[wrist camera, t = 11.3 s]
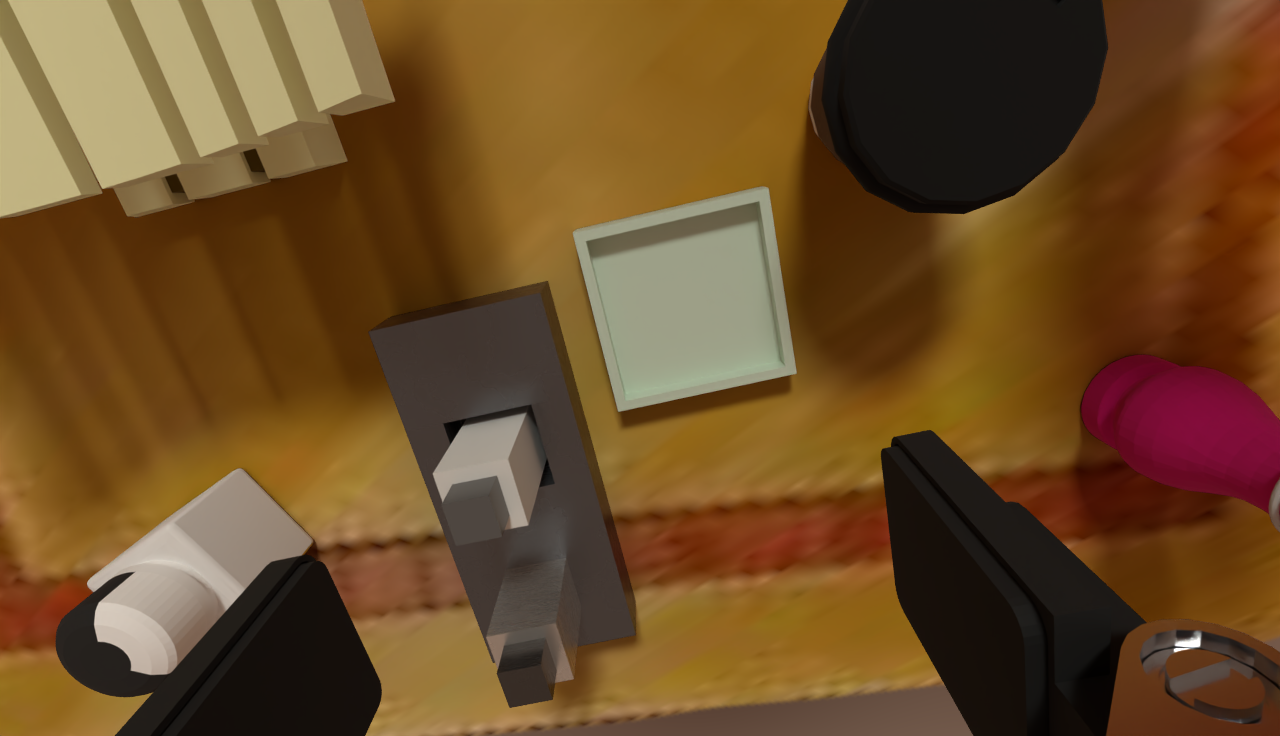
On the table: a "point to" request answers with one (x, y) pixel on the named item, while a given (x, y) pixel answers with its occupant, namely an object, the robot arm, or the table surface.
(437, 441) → the grey piece
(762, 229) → the tray
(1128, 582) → the table surface
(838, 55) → the coffee cup
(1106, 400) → the pepper mill
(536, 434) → the plug
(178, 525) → the medicine bottle
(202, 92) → the slatted curved stool
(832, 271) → the table surface
